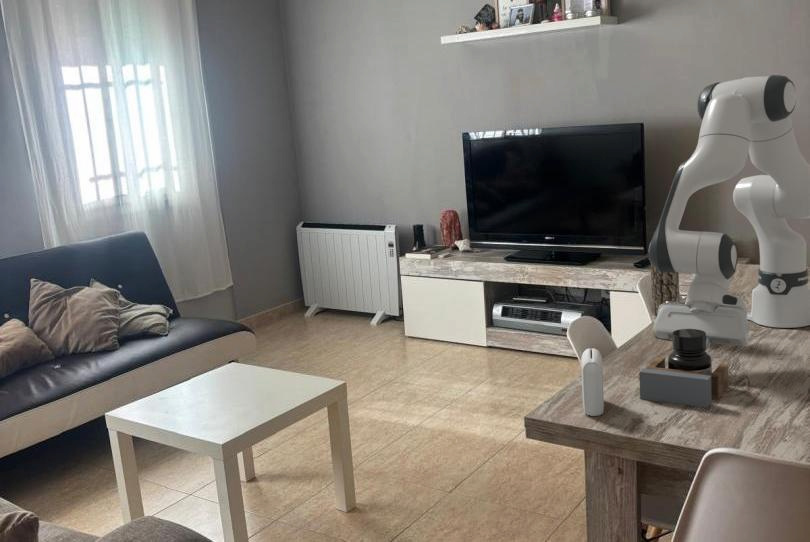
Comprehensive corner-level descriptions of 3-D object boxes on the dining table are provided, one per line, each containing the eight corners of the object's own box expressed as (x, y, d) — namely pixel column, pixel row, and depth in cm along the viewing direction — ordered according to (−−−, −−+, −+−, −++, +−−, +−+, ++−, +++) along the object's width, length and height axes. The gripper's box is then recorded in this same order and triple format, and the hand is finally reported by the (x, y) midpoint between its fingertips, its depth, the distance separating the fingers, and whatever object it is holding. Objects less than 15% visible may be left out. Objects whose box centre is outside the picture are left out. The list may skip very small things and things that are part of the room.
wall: (644, 394, 176) (643, 368, 175) (711, 403, 168) (711, 375, 166) (640, 398, 174) (639, 371, 173) (708, 408, 166) (707, 379, 164)
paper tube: (681, 339, 211) (679, 243, 206) (654, 339, 213) (651, 245, 208) (678, 331, 218) (676, 239, 213) (651, 332, 219) (649, 240, 214)
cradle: (658, 378, 185) (658, 356, 184) (728, 386, 176) (728, 364, 175) (646, 390, 178) (645, 368, 177) (717, 399, 169) (717, 376, 168)
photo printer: (583, 398, 177) (580, 343, 174) (603, 398, 176) (601, 343, 173) (583, 417, 167) (580, 359, 164) (604, 417, 166) (602, 358, 163)
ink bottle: (682, 396, 173) (681, 341, 171) (658, 383, 181) (657, 331, 179) (722, 388, 175) (721, 334, 173) (697, 376, 184) (696, 324, 181)
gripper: (657, 293, 191) (644, 345, 185) (750, 299, 179) (739, 355, 173) (663, 307, 195) (651, 358, 190) (754, 314, 184) (744, 369, 178)
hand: (694, 357), depth 181 cm, fingers closed, pressing on ink bottle
